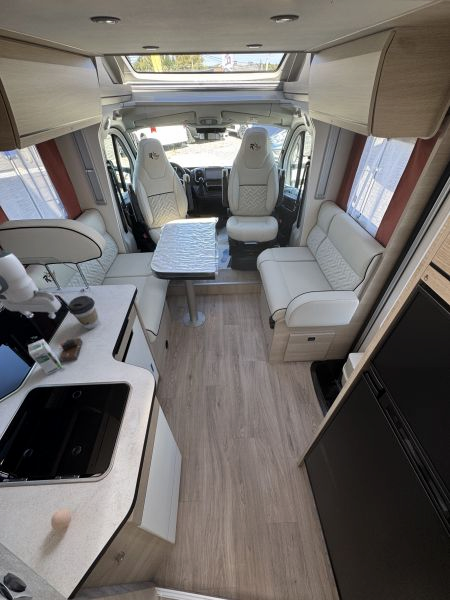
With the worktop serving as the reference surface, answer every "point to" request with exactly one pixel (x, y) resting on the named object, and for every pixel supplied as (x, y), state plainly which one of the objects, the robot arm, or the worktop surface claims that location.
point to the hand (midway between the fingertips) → (42, 317)
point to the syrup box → (44, 356)
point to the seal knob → (68, 345)
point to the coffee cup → (84, 311)
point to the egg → (61, 519)
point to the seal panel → (72, 351)
